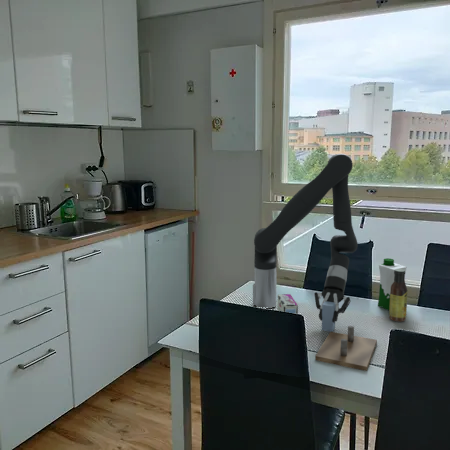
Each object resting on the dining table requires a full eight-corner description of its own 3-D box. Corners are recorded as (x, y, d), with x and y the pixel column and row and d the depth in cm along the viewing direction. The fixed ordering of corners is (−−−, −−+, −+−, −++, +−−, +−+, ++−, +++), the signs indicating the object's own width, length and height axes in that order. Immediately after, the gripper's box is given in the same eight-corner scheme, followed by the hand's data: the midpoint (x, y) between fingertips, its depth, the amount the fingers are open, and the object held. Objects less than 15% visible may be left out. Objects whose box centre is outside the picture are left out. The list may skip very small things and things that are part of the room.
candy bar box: (297, 351, 148) (298, 305, 145) (283, 352, 148) (283, 305, 144) (290, 336, 159) (290, 293, 156) (276, 337, 158) (276, 293, 155)
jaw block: (321, 330, 164) (322, 304, 162) (324, 326, 167) (325, 301, 165) (332, 332, 162) (333, 306, 160) (334, 327, 165) (335, 302, 163)
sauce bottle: (407, 323, 168) (410, 273, 164) (390, 322, 169) (393, 272, 166) (404, 316, 174) (407, 268, 171) (387, 315, 176) (390, 267, 172)
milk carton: (389, 301, 190) (391, 256, 186) (406, 308, 182) (409, 262, 178) (374, 305, 186) (376, 259, 182) (391, 312, 178) (394, 265, 174)
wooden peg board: (315, 360, 142) (315, 341, 140) (330, 335, 159) (330, 318, 158) (366, 371, 135) (367, 351, 133) (376, 343, 152) (377, 326, 151)
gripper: (316, 272, 170) (306, 313, 162) (353, 277, 164) (345, 320, 156) (319, 281, 176) (310, 321, 168) (356, 286, 170) (348, 328, 162)
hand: (327, 320), depth 162 cm, fingers closed on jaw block, 4 cm apart
